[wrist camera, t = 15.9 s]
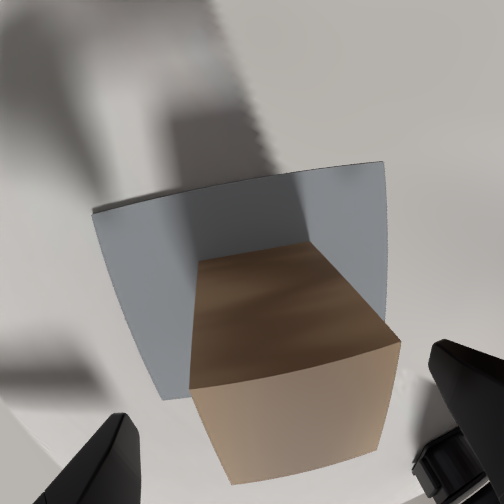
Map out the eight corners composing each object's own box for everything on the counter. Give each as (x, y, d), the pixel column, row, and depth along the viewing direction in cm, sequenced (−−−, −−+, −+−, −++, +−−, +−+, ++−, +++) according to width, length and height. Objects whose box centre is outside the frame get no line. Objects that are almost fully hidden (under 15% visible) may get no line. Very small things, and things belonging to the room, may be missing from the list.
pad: (381, 161, 12) (384, 161, 12) (380, 350, 15) (381, 352, 15) (93, 213, 11) (91, 215, 11) (162, 397, 15) (162, 400, 14)
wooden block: (309, 241, 12) (401, 341, 6) (315, 332, 14) (376, 449, 7) (198, 260, 12) (189, 389, 6) (220, 351, 14) (231, 484, 7)
